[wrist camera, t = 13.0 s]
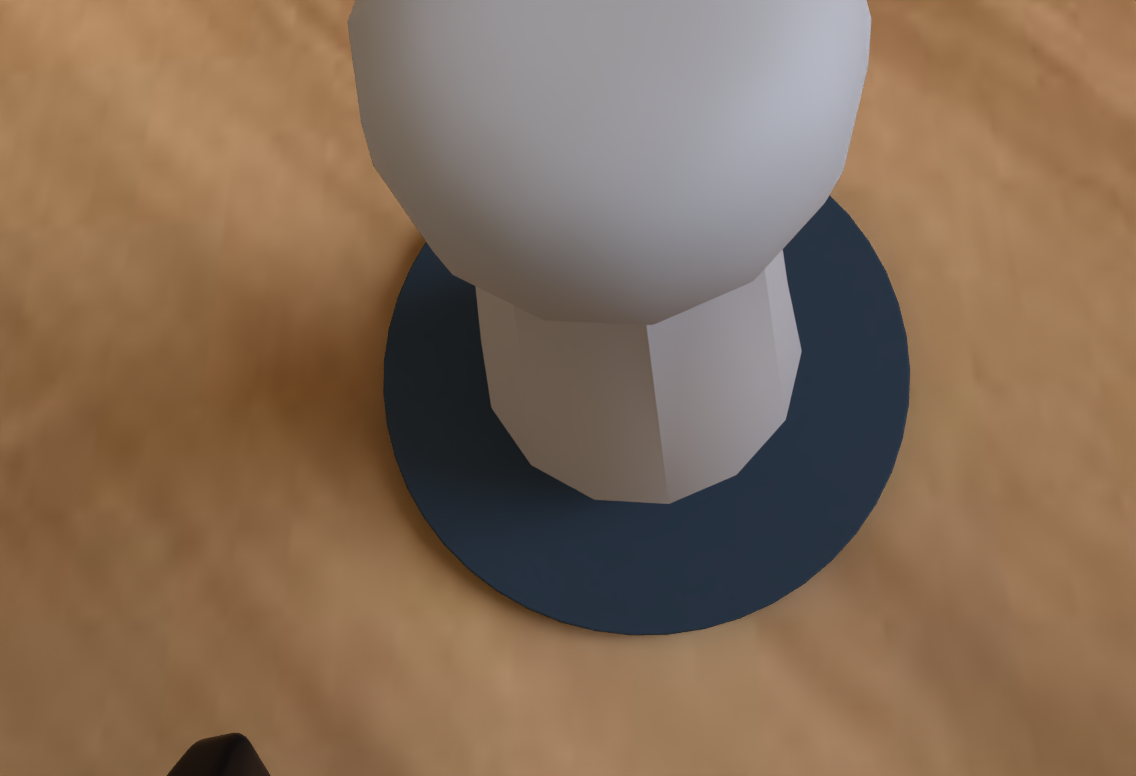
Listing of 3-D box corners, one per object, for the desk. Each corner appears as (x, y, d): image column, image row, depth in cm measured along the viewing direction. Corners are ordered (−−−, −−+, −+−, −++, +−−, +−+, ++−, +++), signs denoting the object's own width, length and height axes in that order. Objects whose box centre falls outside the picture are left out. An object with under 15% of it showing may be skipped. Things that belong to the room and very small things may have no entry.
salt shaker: (630, 193, 20) (576, -464, 8) (841, 359, 19) (1191, -101, 6) (448, 391, 20) (66, 33, 7) (652, 576, 18) (631, 540, 6)
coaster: (732, 745, 18) (734, 750, 18) (293, 452, 20) (283, 448, 20) (999, 283, 20) (1008, 275, 19) (562, 56, 22) (560, 43, 21)
